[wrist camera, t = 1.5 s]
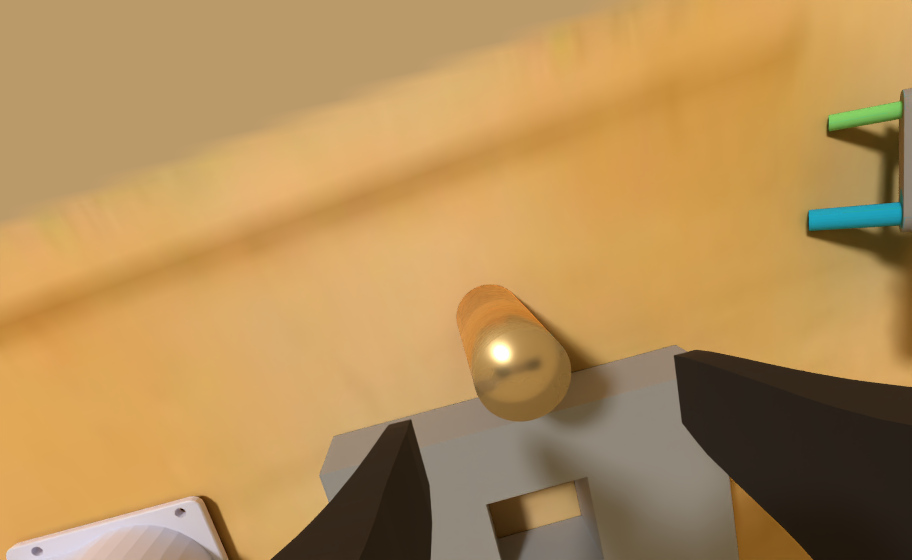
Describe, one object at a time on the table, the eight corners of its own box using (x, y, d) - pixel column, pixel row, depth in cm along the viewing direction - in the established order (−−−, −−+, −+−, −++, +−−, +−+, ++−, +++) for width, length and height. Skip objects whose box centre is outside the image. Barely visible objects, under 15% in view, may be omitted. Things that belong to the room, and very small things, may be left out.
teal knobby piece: (968, 312, 21) (1054, 358, 13) (811, 308, 25) (807, 341, 17) (971, 83, 20) (1064, -8, 12) (809, 116, 24) (805, 61, 16)
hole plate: (397, 623, 23) (394, 684, 20) (333, 436, 21) (319, 475, 18) (702, 537, 24) (742, 584, 21) (675, 345, 21) (715, 368, 19)
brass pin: (465, 354, 21) (486, 432, 14) (449, 293, 20) (463, 343, 13) (527, 338, 21) (579, 407, 14) (514, 277, 20) (561, 318, 13)
